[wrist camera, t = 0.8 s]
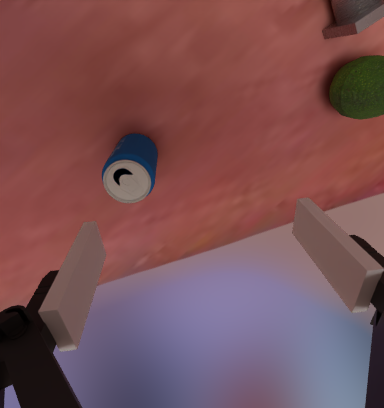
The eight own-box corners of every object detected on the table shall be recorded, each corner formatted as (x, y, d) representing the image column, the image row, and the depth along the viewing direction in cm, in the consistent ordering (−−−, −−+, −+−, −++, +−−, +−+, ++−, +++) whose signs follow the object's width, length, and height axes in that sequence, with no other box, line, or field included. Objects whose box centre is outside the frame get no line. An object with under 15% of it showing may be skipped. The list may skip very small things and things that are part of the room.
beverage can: (138, 123, 39) (127, 145, 28) (165, 155, 41) (165, 185, 31) (108, 149, 40) (87, 179, 30) (136, 178, 43) (127, 215, 33)
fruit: (369, 47, 36) (450, 41, 26) (367, 103, 40) (437, 117, 30) (315, 66, 37) (373, 67, 27) (318, 120, 41) (370, 138, 30)
